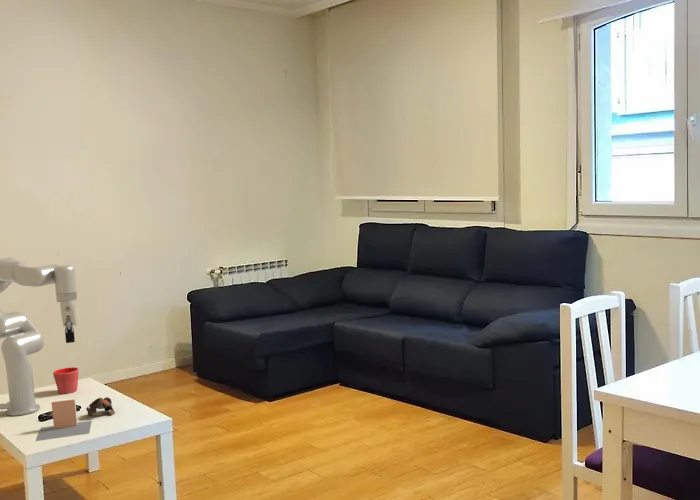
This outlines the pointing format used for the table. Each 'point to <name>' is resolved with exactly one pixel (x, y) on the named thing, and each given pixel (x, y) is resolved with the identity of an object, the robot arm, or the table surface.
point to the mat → (64, 431)
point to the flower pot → (66, 380)
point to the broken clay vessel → (100, 406)
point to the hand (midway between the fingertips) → (70, 340)
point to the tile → (64, 413)
